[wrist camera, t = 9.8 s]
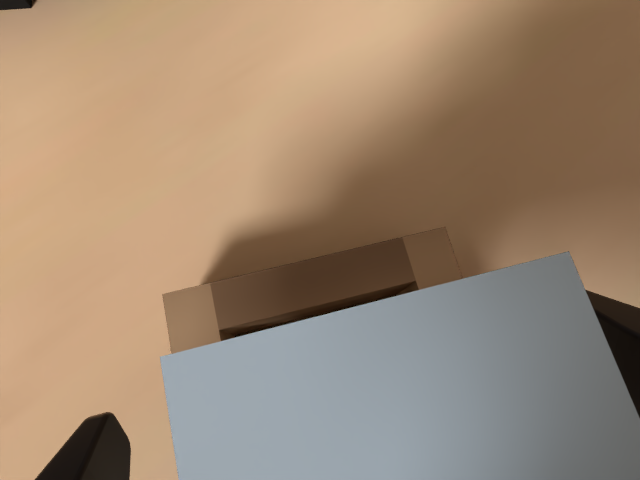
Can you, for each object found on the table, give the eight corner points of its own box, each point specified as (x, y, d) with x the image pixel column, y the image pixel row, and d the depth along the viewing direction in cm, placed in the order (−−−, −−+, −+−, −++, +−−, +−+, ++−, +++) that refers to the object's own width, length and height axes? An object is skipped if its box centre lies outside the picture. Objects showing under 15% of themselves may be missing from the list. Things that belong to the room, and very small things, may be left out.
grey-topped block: (405, 443, 15) (784, 757, 3) (296, 474, 15) (255, 973, 3) (373, 331, 16) (568, 251, 4) (270, 359, 16) (160, 356, 4)
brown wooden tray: (504, 505, 15) (553, 540, 12) (235, 588, 14) (217, 648, 11) (421, 249, 17) (444, 226, 14) (187, 305, 16) (162, 294, 13)
